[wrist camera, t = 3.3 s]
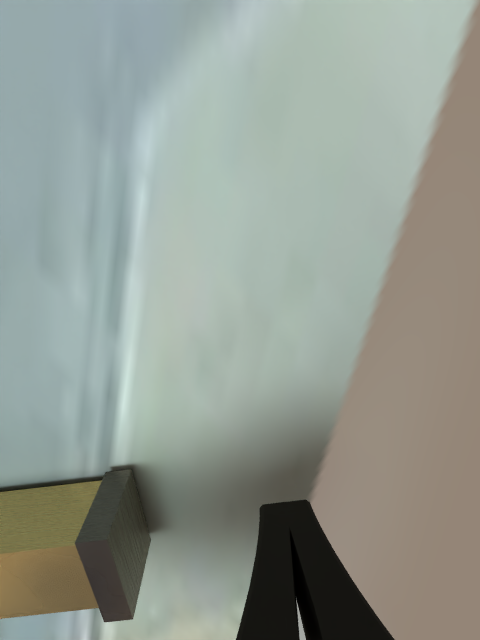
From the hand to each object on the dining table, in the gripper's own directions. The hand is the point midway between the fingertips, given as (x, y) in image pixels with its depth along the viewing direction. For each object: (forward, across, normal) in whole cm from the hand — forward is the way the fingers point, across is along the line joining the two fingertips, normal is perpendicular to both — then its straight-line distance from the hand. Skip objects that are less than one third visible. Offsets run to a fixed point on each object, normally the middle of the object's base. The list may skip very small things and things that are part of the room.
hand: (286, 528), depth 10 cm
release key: (+1, +8, 0) cm, 8 cm away
